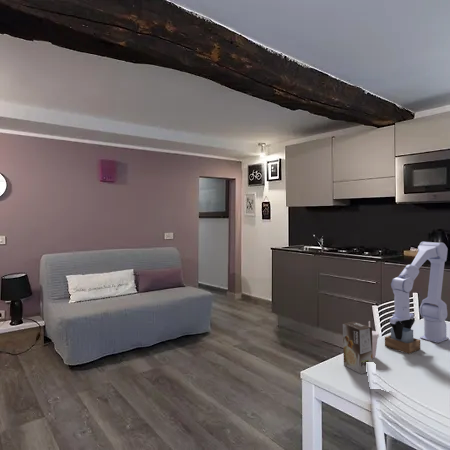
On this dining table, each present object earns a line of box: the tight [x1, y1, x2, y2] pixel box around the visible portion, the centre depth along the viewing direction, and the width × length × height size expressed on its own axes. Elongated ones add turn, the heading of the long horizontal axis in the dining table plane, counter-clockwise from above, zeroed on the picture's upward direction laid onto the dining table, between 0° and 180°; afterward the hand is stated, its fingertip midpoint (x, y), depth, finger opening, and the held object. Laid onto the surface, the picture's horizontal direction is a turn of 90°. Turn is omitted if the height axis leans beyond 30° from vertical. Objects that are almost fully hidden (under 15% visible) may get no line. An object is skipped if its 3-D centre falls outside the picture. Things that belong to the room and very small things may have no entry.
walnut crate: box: [384, 334, 421, 355], centre depth 149 cm, size 9×11×4 cm
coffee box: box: [342, 321, 374, 375], centre depth 131 cm, size 9×6×16 cm
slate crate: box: [390, 327, 414, 343], centre depth 149 cm, size 5×7×6 cm
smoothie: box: [368, 320, 380, 359], centre depth 141 cm, size 6×6×14 cm
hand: (402, 337), depth 149 cm, fingers closed on slate crate, 5 cm apart
